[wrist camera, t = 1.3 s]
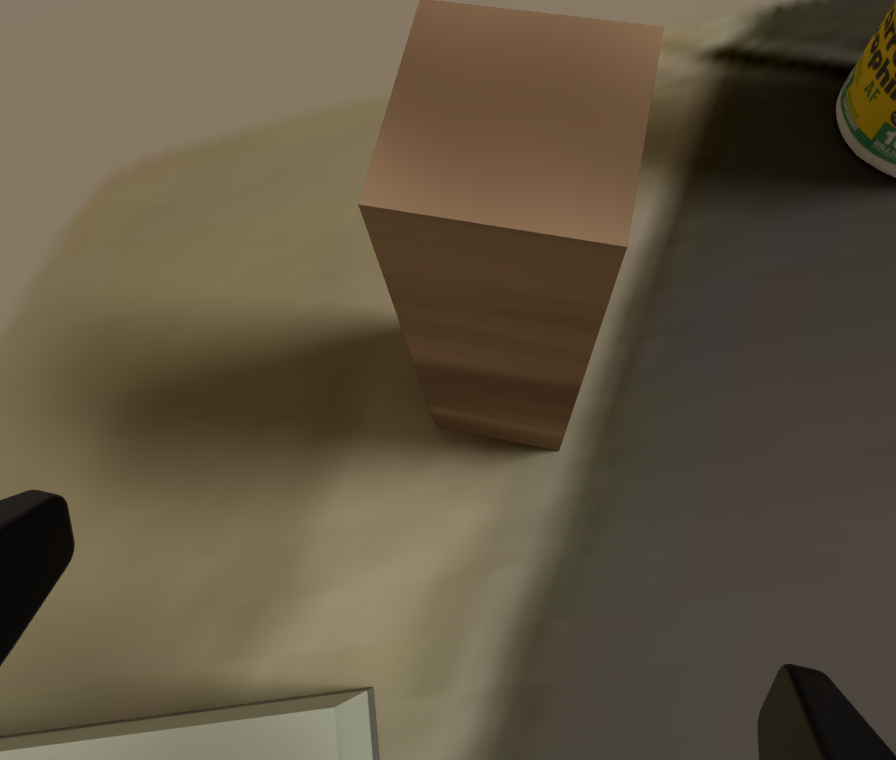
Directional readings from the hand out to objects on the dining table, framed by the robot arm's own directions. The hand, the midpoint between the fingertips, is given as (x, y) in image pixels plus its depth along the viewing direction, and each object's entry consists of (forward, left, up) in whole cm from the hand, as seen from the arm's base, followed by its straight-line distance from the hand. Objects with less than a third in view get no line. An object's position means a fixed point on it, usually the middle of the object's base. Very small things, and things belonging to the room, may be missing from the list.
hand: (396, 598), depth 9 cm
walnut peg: (+7, -1, -13) cm, 15 cm away
